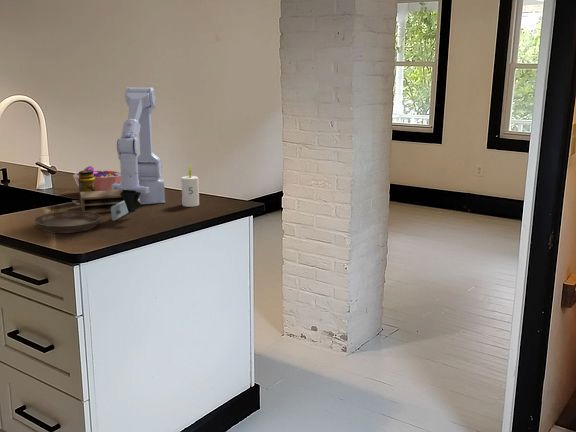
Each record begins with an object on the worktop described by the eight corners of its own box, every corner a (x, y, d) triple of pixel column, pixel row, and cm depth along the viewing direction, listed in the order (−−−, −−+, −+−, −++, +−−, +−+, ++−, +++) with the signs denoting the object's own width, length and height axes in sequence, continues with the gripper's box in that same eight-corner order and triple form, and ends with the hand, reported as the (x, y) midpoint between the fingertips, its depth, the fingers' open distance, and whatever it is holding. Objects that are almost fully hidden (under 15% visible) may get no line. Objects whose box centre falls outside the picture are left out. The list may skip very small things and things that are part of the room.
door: (132, 208, 222) (131, 196, 221) (137, 208, 221) (137, 196, 220) (111, 220, 205) (110, 207, 204) (117, 220, 205) (116, 207, 204)
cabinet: (130, 203, 232) (130, 188, 231) (134, 209, 222) (133, 194, 221) (81, 206, 226) (80, 192, 225) (82, 213, 216) (81, 198, 215)
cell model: (113, 199, 239) (111, 171, 236) (66, 197, 242) (63, 169, 240) (131, 190, 255) (129, 164, 252) (86, 188, 258) (84, 162, 256)
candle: (182, 207, 227) (181, 167, 223) (182, 203, 233) (180, 164, 229) (199, 206, 228) (198, 166, 224) (198, 202, 234) (197, 164, 231)
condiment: (99, 202, 233) (97, 171, 230) (77, 205, 229) (74, 173, 226) (94, 199, 239) (92, 169, 236) (72, 201, 235) (69, 170, 232)
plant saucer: (101, 217, 212) (100, 208, 211) (103, 232, 193) (102, 222, 192) (37, 222, 205) (36, 212, 204) (33, 238, 186) (32, 227, 185)
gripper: (104, 173, 206) (107, 212, 209) (139, 176, 200) (141, 216, 203) (118, 169, 212) (120, 207, 215) (152, 173, 206) (154, 212, 209)
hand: (131, 211), depth 210 cm, fingers closed
